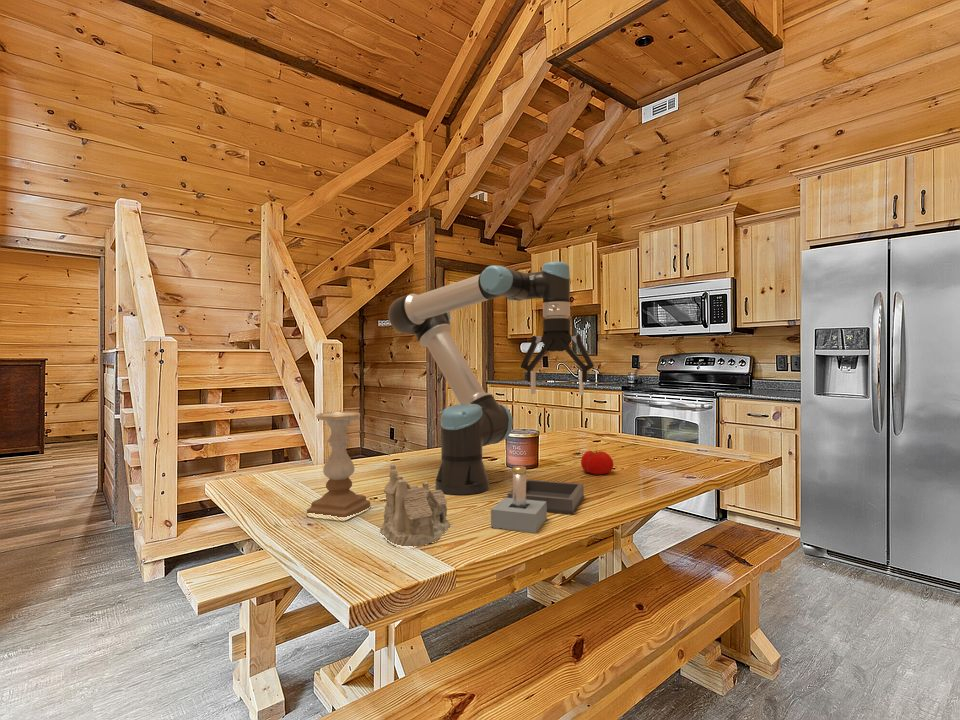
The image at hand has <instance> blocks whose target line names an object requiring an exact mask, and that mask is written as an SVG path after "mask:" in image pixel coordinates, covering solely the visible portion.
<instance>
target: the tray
mask: <svg viewBox="0 0 960 720" xmlns="http://www.w3.org/2000/svg"><path fill="white" fill-rule="evenodd" d="M584 486H585V485H584V483H576V482H575V483H574V482H564V481H551V480H541V479H540V480H538V479H537V480H536V479H528V478H526V500H536V501H546V502H547V513H549V514H552V513H553V514H559V515H561V514H562V515H570V516H572V515H574V513H576V510H577V509H578V507H579V505H580V504H581V502H583V499H584V497H585V495H584V488H585V487H584ZM506 498H513V489H511V491H509V492H508V493H507V497H506Z"/></svg>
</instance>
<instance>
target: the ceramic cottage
mask: <svg viewBox="0 0 960 720" xmlns="http://www.w3.org/2000/svg"><path fill="white" fill-rule="evenodd" d="M389 469H390V471H389V481H388V482H387V484H386V485H385V486H384V489H383V490H384V491H383V492H384V493H385V502H386V503H385V505H384V513H383V514H384V515H383V522H382V525H381V527H380V529H379V534H380V533H381V534H382V535H384V536H385V537H386V538H387V540H389V541H390V542H392V543H394V544H397V545H401V546H413V547H414V546H422V545H425V544H429V543H432V542H435V541H436V540H438V539H439V538H440V539H441V537H440V536H441V535H442V534H445V533H446V532H448V531H449V529H448V528H451V526H450V525H451V524H450V522H449V520H447V516H448V511H447V510H448V508H447V505H448V501H447V500H446V496H445V493H443V492H442V490H430V489H429V482H428V481H423V482H422V486H421V487H419V486H418V485H415V484H413V485H412V486H411V484H410V483H408V482H407V481H406V479H405V478H403V476H399V475H398V474H399V473H398V470H397V466H396V464H395V463H392V464H390V465H389ZM445 531H446V532H445ZM442 536H443V535H442ZM438 541H439V540H438ZM435 543H436V542H435Z"/></svg>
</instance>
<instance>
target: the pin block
mask: <svg viewBox="0 0 960 720" xmlns="http://www.w3.org/2000/svg"><path fill="white" fill-rule="evenodd" d="M547 514H548V512H547V502H546V501H536V500H526V509H522V508H513V498H507V497H504V498H503V499H502V500H500V501H499V502H498V503H496V504H495V506H493V507H492V508H491V509H490V529H496V528H502V529H501V530H505V529H507V530H506V531H513V530H514V532H524V533H532V534H536V533H537V532H538V531H539V530H540V528H541V527H542V526H543V524H544V523H545V522H546V520H547V518H548V515H547ZM492 527H493V528H492Z"/></svg>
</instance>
